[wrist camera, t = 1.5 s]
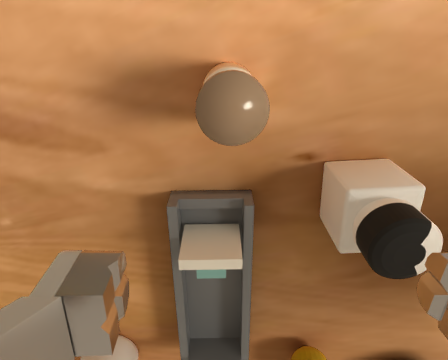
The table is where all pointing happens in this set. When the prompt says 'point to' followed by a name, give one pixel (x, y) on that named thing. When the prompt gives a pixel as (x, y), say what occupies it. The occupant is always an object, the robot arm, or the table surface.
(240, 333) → the lane
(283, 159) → the table surface
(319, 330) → the table surface
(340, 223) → the medicine bottle
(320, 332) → the table surface
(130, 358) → the milk bottle
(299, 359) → the lemon
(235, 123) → the jar
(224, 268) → the pusher
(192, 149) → the table surface
